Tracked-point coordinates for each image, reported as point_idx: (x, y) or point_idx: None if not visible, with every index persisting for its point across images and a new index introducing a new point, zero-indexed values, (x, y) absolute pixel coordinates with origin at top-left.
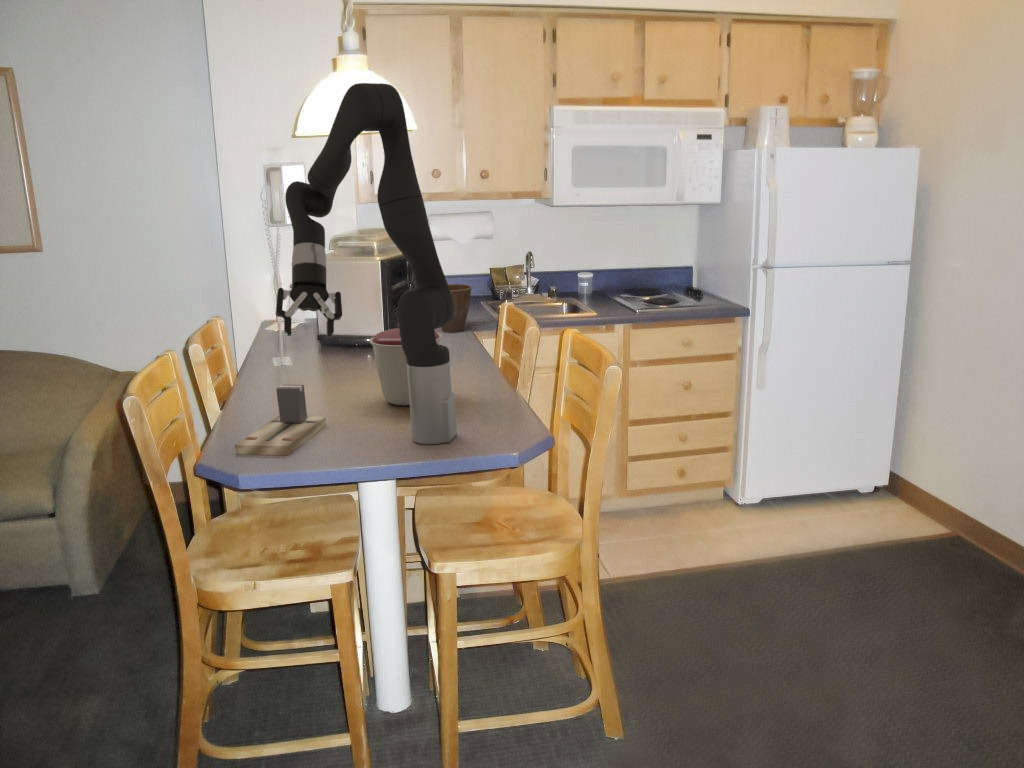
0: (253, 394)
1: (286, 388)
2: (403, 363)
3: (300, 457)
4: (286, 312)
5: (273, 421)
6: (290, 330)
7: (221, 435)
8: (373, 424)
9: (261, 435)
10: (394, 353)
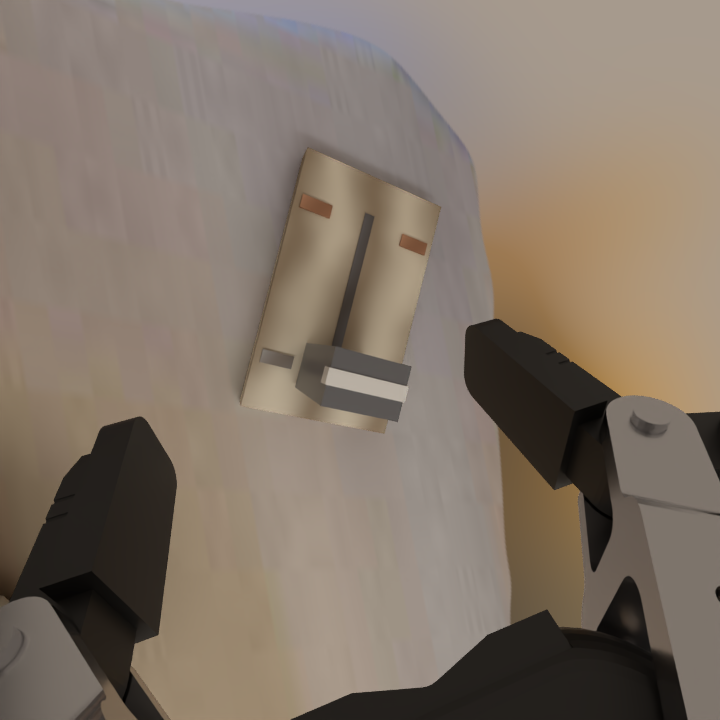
0: None
1: (376, 363)
2: None
3: (265, 131)
4: (687, 428)
5: None
6: (489, 330)
7: None
8: (70, 388)
9: (393, 266)
10: None
